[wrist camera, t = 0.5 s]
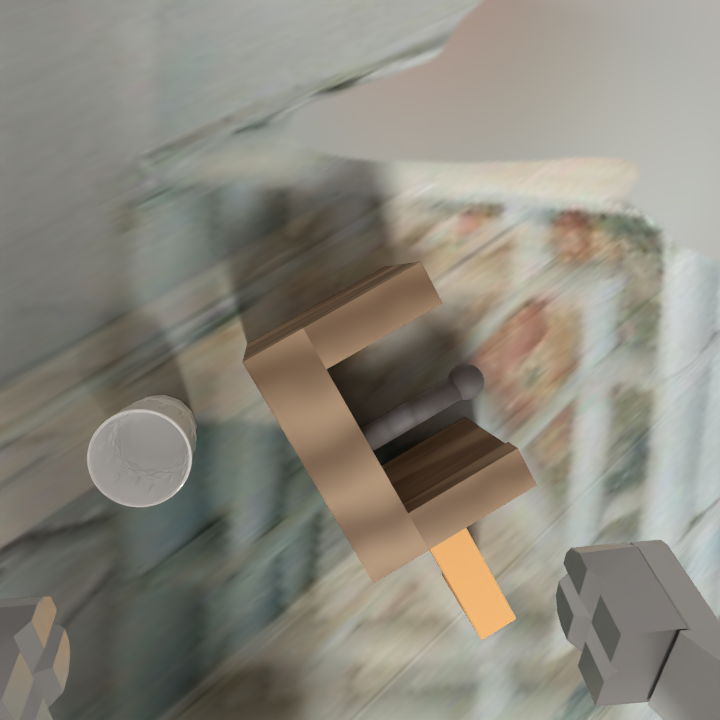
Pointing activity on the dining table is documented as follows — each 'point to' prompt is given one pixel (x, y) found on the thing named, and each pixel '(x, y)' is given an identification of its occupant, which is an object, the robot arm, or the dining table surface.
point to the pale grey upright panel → (143, 451)
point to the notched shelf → (334, 434)
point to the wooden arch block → (472, 583)
